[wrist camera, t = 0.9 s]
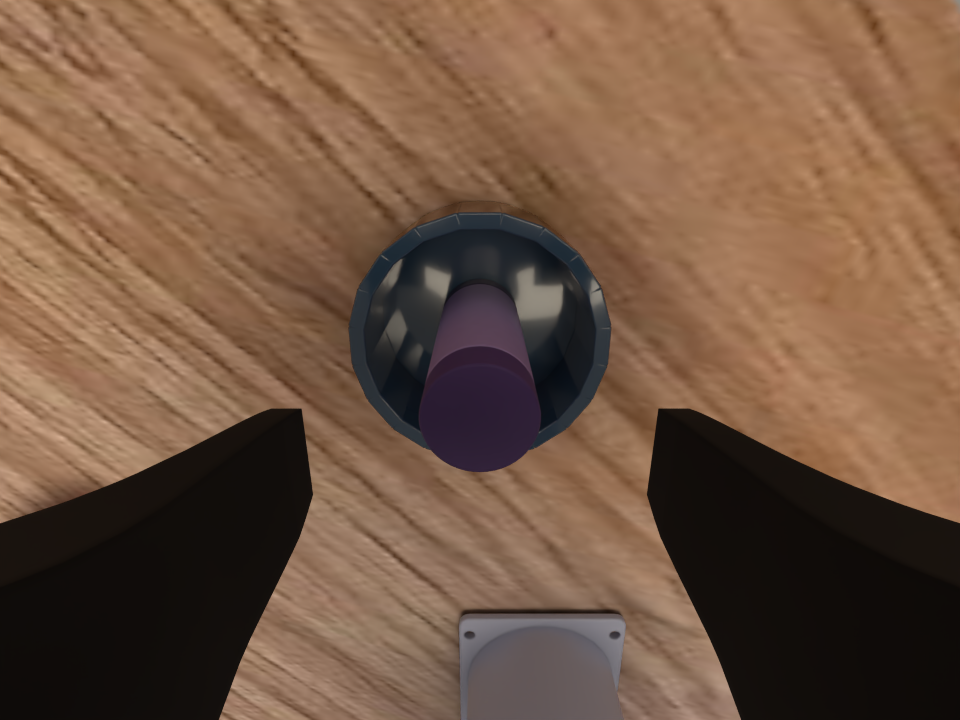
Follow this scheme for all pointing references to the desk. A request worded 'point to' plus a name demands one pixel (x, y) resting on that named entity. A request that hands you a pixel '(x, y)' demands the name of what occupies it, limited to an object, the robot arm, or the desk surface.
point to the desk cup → (492, 256)
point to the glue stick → (479, 382)
